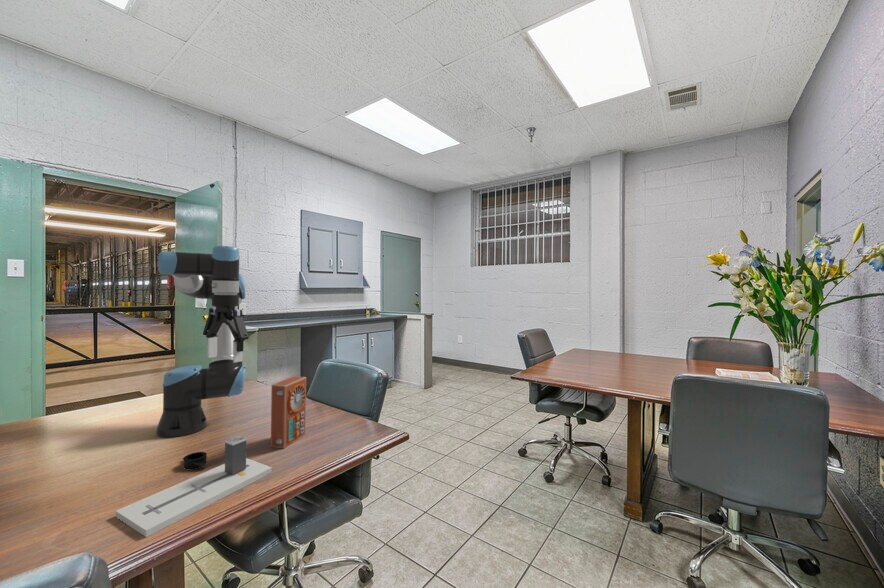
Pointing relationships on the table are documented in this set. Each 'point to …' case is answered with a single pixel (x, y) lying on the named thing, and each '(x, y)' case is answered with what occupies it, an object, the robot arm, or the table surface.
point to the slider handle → (235, 455)
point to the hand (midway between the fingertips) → (224, 359)
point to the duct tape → (195, 460)
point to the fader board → (187, 497)
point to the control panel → (288, 411)
